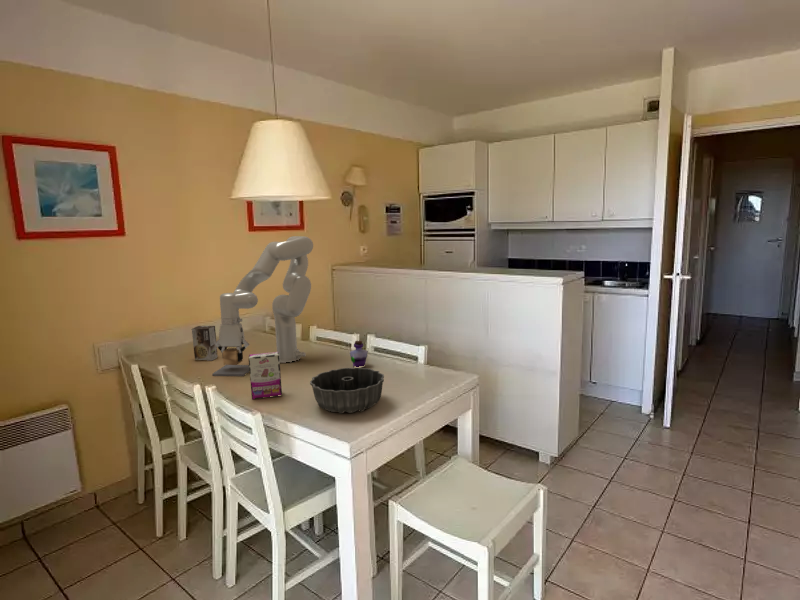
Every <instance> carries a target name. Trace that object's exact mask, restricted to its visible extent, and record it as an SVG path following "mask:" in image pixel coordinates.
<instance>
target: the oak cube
mask: <svg viewBox="0 0 800 600" xmlns="http://www.w3.org/2000/svg"><path fill="white" fill-rule="evenodd" d="M222 361H223V366H225V365H240V364H241V363H242V362H243V360H242V361H240V362H238V350H237V348H236V347H227V349H226V350H224V351H223V356H222Z"/></svg>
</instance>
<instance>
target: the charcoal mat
mask: <svg viewBox="0 0 800 600" xmlns="http://www.w3.org/2000/svg"><path fill="white" fill-rule="evenodd" d="M249 371H250V370H249V364H237V365H223V366H222V367H220V368H219V369H217V370H216V371H214V372H213V373H212V377H245V376H246V375H247V374H249V373H250V372H249ZM246 373H247V374H246ZM245 374H246V375H245ZM244 375H245V376H244Z"/></svg>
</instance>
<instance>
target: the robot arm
mask: <svg viewBox="0 0 800 600" xmlns="http://www.w3.org/2000/svg"><path fill="white" fill-rule="evenodd" d="M313 249H314V242H313V240H312V239H311V238H309V236H305V235H303V236H302V235H296V236H295V235H293V236H290V237H288V238H287V239H286V241H271V242H269V243H268V244H266V246H265V248H264V249H263V251H262V253H261V254H260V256H259V257H258V260H257V261H256V263H255V264H254V266H253V268H252V269H251V270H249V271H248V272H247V273H246V274H245V275H244V277H243V278H242V279H241V280H240V282H239V283H238V284H237V286H236V288H235V289H234V291H233V292H226V293H225V292H224V293H221V294H220V295H219V309H220V320H221V323H220V325H219V331H218V332H219V333H218V339H217V340H216V343H215V346H216V347H217V350H219V351H220V353H221V354H222V355H221V356H222V357H223V351H224V350H226V349H228V348H237V350H238V362H240V361H242V362H243V360H244V359H243V358H244V356H243V355H244V353H243V352H244V351H245V350H246V348H248V347H249V346H250V343H249V342H248V341H247V340H246V338H245V332H244V327H243V324H242V323H241V322H243V318H241V317H240V310H239V309H247V310H248V309H253V308H254V307H256V306H257V305H258V302H259V299H258V296H257V295H256V294H255V293H253V291H254V289H256V287H257V286H258V285H260V284H261V283H263V282H264V281H266V280H269V279H270V278H271V277H272V276H273V273H274V271H275V270H276V268H277V266H278V265H279V263H280V262H284V261H289V260H290V262H289V266H288V269H287V271H286V273H285V276H284V279H283V282H282V289H283V290H284V291H285V292H287V293H289V294H279V295H277V296H275V297H274V298H273V300H272V302H271V303H272V307H271V308H272V309H271V310H272V313H273V318H274V326H275V341H276V343H275V344H276V352H279V361H280V364H287V363H286V362H290V363H293V362H292V361H295V362H297V361H296V360H298V361H300V360H301V359H302V358H301V357H306V356H307V355H306V352H305V351H300V349H299V348H298V345H297V326H296V325H297V323H296V317H299V316H300V315H301V314H302V312H303V311H304V309H305V307H306V304H307V302H308V298H309V296H310V294H311V289H312V283H311V279H310V278H309V277H308V276H306V274H307V271H308V267H309V259H308V258H309V257H308V255H309V254H311V252H312V251H313ZM300 358H301V359H300ZM299 359H300V360H299ZM240 363H241V362H240Z"/></svg>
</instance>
